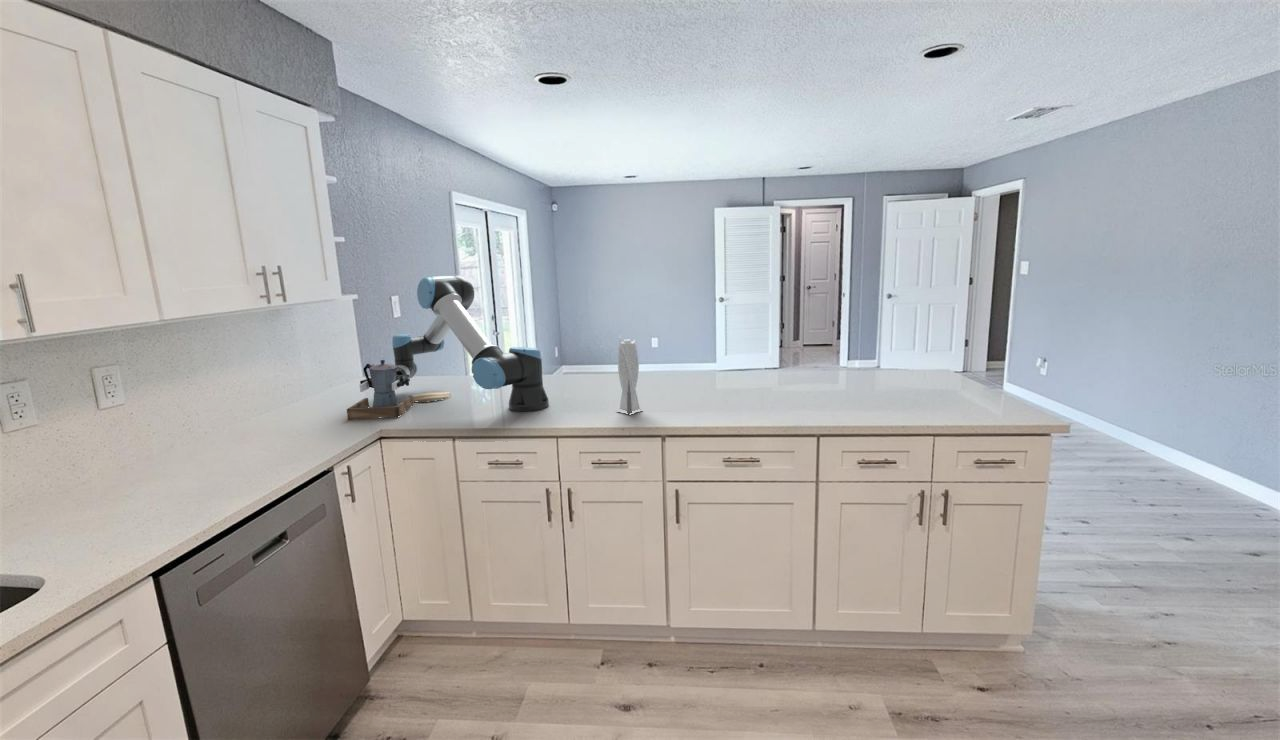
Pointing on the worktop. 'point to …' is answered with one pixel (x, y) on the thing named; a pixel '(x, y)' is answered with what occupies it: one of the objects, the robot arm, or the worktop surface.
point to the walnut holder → (377, 409)
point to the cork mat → (431, 396)
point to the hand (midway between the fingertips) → (376, 387)
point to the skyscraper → (628, 375)
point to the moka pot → (382, 383)
